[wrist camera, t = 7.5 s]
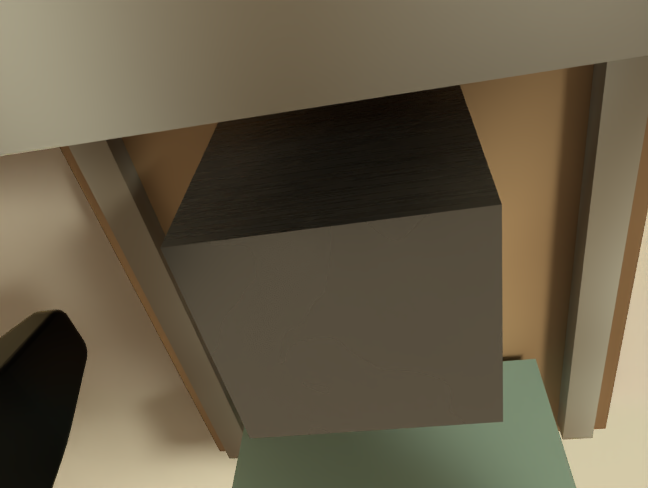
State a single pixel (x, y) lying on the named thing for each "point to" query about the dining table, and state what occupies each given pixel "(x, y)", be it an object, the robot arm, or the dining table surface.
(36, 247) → the dining table surface
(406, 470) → the sliding jaw
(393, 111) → the block
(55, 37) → the vise base
